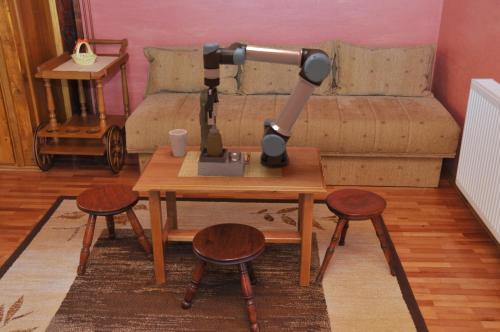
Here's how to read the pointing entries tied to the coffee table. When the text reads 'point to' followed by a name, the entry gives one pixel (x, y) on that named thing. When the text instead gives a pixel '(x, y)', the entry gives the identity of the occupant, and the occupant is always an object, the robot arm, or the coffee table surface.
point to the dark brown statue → (204, 120)
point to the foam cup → (178, 142)
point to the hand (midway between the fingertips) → (213, 120)
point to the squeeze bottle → (214, 142)
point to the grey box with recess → (222, 164)
